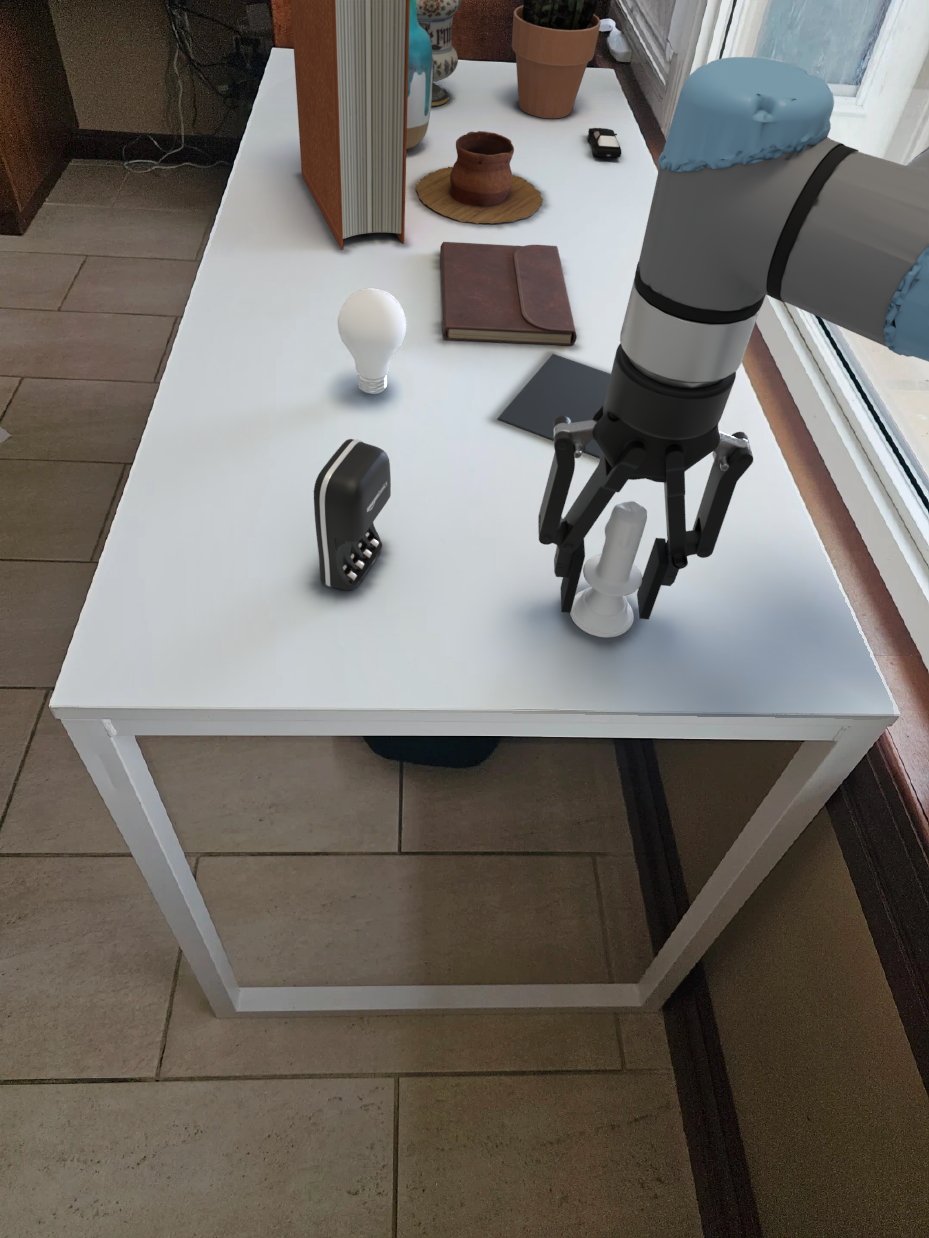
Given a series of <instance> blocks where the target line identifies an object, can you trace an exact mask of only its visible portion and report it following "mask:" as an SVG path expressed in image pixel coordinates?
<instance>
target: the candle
mask: <svg viewBox="0 0 929 1238" xmlns="http://www.w3.org/2000/svg"><path fill="white" fill-rule="evenodd" d="M647 519H648V510H647V508H646V507H645V506H643V505H640V504H639V503H638V502H636V501H635V500H634V501H633V500H629V501H623V502H620V503H617V504H615V505H614V506H613V508H612V510H611V513H610V517H609V519H608V520H607V522H606V524H605V526H604V537H605V539H604V543H603V546H602V550H601V553H597V554H594V555H592V556H591V557H589V558H588V559H587V560H586V561H585V563H584V564H583V567H582V574H583V577H584V580H585V581H586V583H587V584H588V585H589V586H587V588H585V589H584V590H581V591H579V592H578V593H576V594H575V598H574V602H573V606H572V609H571V613H569V615H570V617H571V619H572V621H573V622H574V624H575V625H576V626H577V627H578V628H579V629H580V630H582V631H583V632H584V633H586V634H589V635H592V636H595V637H598V638H615V637H619V636H621V635H623V634H625V633H626V632H627V631H629V630H630V628H631V627H632V625H633V623H634V619H635V618H634V615H635V614H634V611H633V608H632V607H631V604H630V603H629V601H628V599H627V596H630V595H633V594H634V593H635V592H638V589H639V587H640V586H641V583H642V577H643V573H642V571H641V569H640V567H639V566H638V565H637V564H636V563H635V559H636V556H637V553H638V551H639V547H640V544H641V540H642V538H643V535H644V531H645V528H646V523H647V521H648V520H647Z"/></svg>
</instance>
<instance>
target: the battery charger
mask: <svg viewBox="0 0 929 1238" xmlns="http://www.w3.org/2000/svg"><path fill="white" fill-rule="evenodd" d="M390 462H391V461H390V458H389V456H388V454H387V451H385V450H384V449H382V448H380V447H378V446H376V445H374V444H373V445H372V444H368V443H366V442H364V441H363V440H361V439H358V438H355V439H354V438H353V439H352V438H348V439H346V440H345V441H344V442H342V444H341V445H340V446H339V448H338V449H336V451H335V452H334V453H333V454H332V456H331V457H330V458H329V460H328V461H327V462H326V464H325V465H324V466H323V468H322V469H321V470H320V471H319V473H318V475H317V477H316V479H315V483H314V488H313V509H314V523H315V534H316V543H317V553H318V561H319V563H318V564H319V581H320V583H322V584H323V585H325V586H327V587H330V588H332V587H333V588H335V589H339V590H345V591H346V590H348V591H349V590H351V591H352V590H354V589H356V588H357V587H358V586H359V585H360V584H361V582H362V581H363V580H364V578H365V577H366V575H367V574H368V572H369V571H370V569H371V568H372V567H373V565H374V563H375V562H376V560H377V559H378V557H379V556H380V554H381V552H382V550H383V542H382V539H381V537H380V535H379V533H378V531H377V529H376V527H375V525H374V521H375V520H376V519H377V518H378V516H379V514H380V513H381V512H382V510H383V509H384V507H385V506H386V504H387V503H388V501H389V500H390V498H391V495H392V491H391V487H392V483H391V482H392V481H391V463H390Z"/></svg>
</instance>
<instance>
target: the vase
mask: <svg viewBox="0 0 929 1238" xmlns="http://www.w3.org/2000/svg"><path fill="white" fill-rule="evenodd" d="M432 75H433V61H432V46H431V41H430V37H429V35H428V33H427V32H426V30H424V29H423V28H422V27H421V26H419V24H418V22H417V11H416V0H410V18H409V61H408V103H407V146H406V150H408V149H411V148H414V147H416V146H417V145H419V144H420V143H421V142H422V141H423V139H424V137H425V136H426V134H427V131H428V127H429V123H430V116H431V110H432V109H431V108H432V107H431V99H432V83H433V82H432Z"/></svg>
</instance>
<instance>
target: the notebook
mask: <svg viewBox="0 0 929 1238" xmlns="http://www.w3.org/2000/svg"><path fill="white" fill-rule="evenodd" d="M439 249H440V251H439V253H440V276H441V277H440V279H441V309H442V310H441V311H442V312H441V313H442V314H441V315H442V335H443V338H444V340H446V341H461V342H462V341H463V342H484V343H485V342H486V343H505V344H523V345H524V344H525V345H526V344H527V345H528V344H529V345H549V346H567V347H572V346H574V345H575V343H576V341H577V338H578V337H577V332H576V326H575V321H574V317H573V312H572V307H571V304H570V299H569V294H568V288H567V285H566V280H565V275H564V271H563V266H562V261H561V257H560V252H559V247H558V246H557V245H549V244H527V245H514V244H513V245H512V244H511V245H510V244H493V243H477V242H475V243H474V242H456V241H455V242H454V241H442V243H441V244H440V247H439Z"/></svg>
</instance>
